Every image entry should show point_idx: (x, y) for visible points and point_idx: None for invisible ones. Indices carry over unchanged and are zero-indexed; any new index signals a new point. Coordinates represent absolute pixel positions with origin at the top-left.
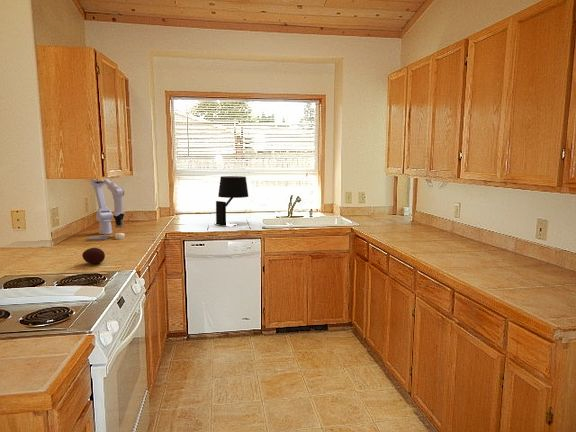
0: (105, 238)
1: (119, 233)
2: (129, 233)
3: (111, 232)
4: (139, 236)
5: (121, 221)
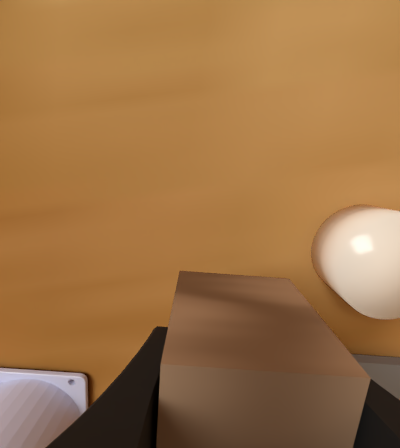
0: (382, 370)
1: (373, 274)
2: (55, 193)
3: (20, 370)
4: (278, 43)
5: (353, 374)
